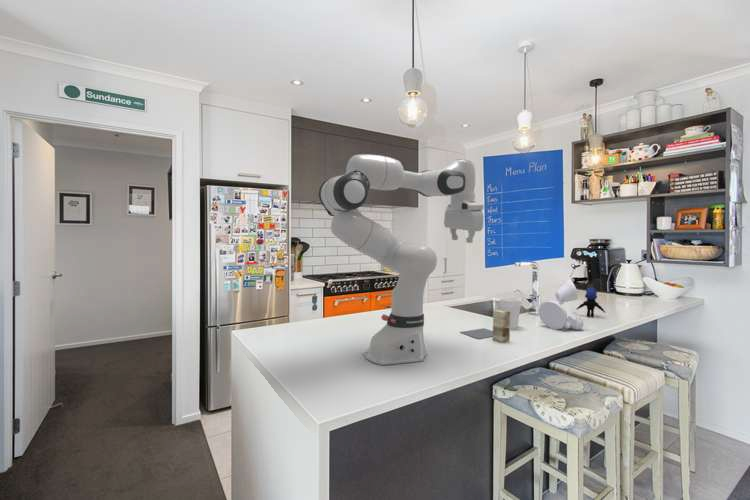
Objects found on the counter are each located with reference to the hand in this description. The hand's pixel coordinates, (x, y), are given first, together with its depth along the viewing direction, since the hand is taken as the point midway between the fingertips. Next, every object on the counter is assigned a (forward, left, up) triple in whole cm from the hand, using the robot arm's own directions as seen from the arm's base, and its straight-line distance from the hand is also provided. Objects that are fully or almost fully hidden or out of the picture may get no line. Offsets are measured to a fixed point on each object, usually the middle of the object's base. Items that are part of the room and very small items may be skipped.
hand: (461, 241), depth 142 cm
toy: (+92, +6, -40) cm, 100 cm away
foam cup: (+37, +9, -40) cm, 55 cm away
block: (+18, -4, -40) cm, 43 cm away
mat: (+18, +7, -40) cm, 44 cm away
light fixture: (+59, +1, -40) cm, 71 cm away
